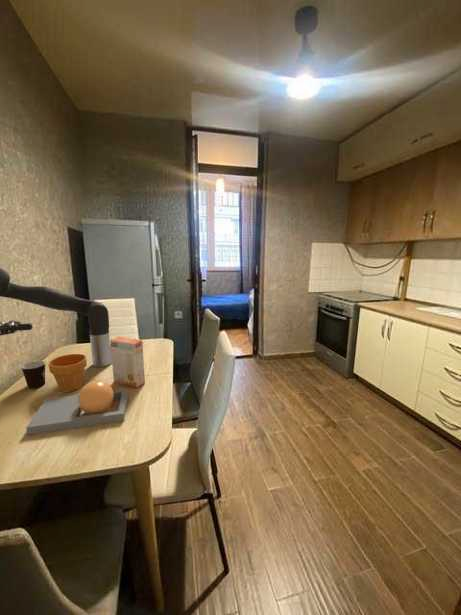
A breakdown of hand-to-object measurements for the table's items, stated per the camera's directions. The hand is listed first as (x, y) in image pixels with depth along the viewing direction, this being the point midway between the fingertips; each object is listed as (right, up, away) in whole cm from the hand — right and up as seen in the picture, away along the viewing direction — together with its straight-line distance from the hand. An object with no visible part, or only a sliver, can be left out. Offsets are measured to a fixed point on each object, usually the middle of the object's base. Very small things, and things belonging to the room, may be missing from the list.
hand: (31, 326), depth 101 cm
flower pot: (+3, -29, +20) cm, 35 cm away
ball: (+24, -27, +1) cm, 36 cm away
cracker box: (+28, -28, +24) cm, 46 cm away
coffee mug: (-13, -28, +22) cm, 38 cm away
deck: (+19, -33, +1) cm, 38 cm away
